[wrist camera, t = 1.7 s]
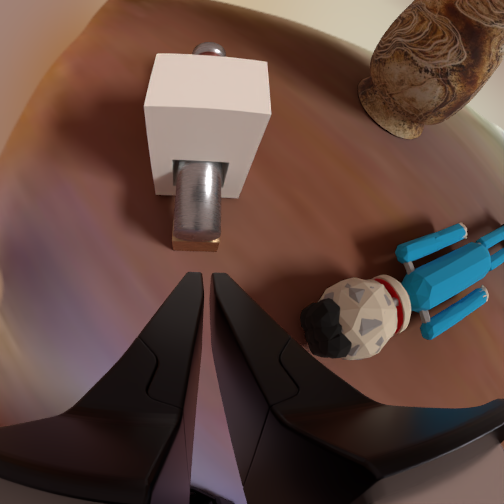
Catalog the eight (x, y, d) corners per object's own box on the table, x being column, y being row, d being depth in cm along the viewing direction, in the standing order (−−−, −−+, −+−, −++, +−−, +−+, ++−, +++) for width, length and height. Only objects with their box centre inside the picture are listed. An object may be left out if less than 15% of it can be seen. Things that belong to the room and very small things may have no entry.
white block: (238, 198, 24) (271, 114, 14) (155, 194, 22) (143, 106, 13) (238, 152, 25) (267, 61, 16) (161, 148, 24) (156, 53, 14)
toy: (495, 209, 31) (277, 288, 23) (527, 192, 26) (305, 272, 18) (516, 269, 30) (312, 390, 22) (549, 258, 24) (348, 403, 16)
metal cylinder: (216, 251, 23) (224, 227, 18) (173, 250, 22) (170, 225, 17) (221, 83, 27) (229, 43, 22) (188, 80, 26) (192, 41, 22)
